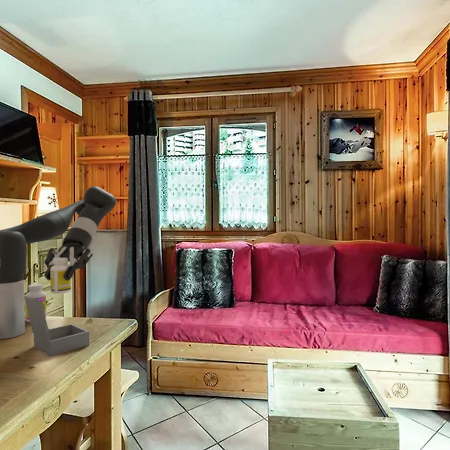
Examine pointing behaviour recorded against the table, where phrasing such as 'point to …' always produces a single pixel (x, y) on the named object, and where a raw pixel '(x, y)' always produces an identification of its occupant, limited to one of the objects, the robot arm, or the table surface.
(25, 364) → the table surface
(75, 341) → the mailer box
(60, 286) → the supplement bottle
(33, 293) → the supplement bottle
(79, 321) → the table surface
